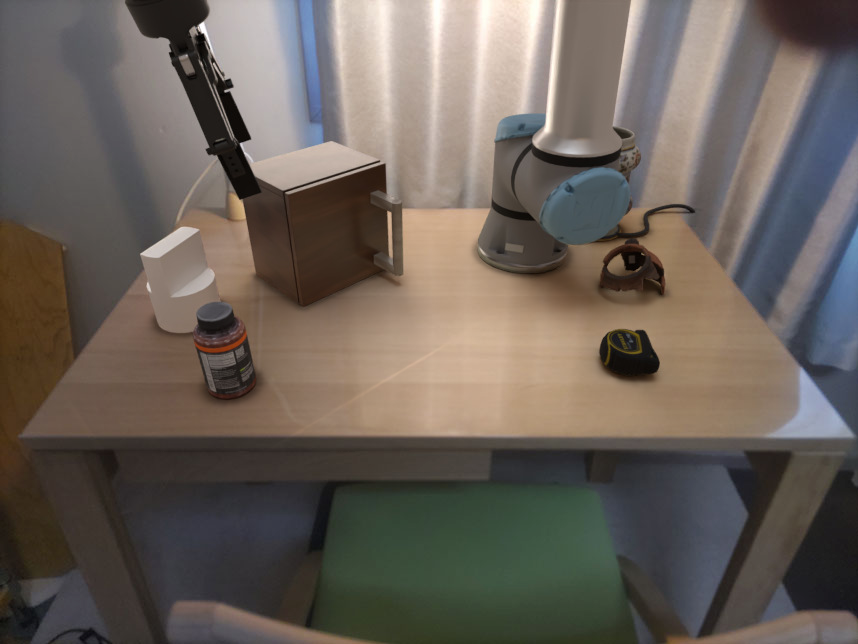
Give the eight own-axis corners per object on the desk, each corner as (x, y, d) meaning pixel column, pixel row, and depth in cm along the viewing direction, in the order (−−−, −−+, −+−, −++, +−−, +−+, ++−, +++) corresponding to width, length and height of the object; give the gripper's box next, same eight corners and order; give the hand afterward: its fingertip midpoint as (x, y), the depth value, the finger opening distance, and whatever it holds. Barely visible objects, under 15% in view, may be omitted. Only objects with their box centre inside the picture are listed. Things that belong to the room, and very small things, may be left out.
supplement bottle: (216, 369, 78) (197, 295, 71) (262, 370, 77) (247, 296, 71) (200, 400, 73) (178, 324, 66) (249, 402, 73) (232, 325, 66)
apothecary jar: (580, 209, 118) (595, 117, 108) (637, 227, 112) (659, 131, 102) (547, 230, 111) (560, 132, 101) (607, 251, 105) (627, 149, 94)
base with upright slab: (197, 338, 83) (177, 262, 76) (143, 326, 85) (119, 251, 78) (234, 305, 90) (219, 232, 83) (184, 294, 92) (165, 222, 85)
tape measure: (657, 382, 76) (664, 359, 74) (602, 380, 76) (607, 356, 74) (643, 349, 82) (649, 326, 80) (593, 347, 82) (597, 324, 80)
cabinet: (384, 265, 100) (380, 159, 90) (298, 304, 90) (282, 190, 80) (340, 241, 107) (331, 140, 97) (256, 274, 97) (236, 167, 87)
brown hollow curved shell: (674, 307, 91) (663, 272, 85) (612, 323, 95) (597, 290, 89) (660, 252, 99) (649, 217, 93) (603, 269, 102) (589, 236, 97)
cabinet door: (413, 280, 96) (412, 173, 86) (326, 323, 86) (314, 208, 76) (385, 265, 100) (381, 161, 89) (299, 304, 90) (283, 192, 80)
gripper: (128, -37, 68) (212, 131, 83) (112, 38, 51) (222, 232, 66) (192, -57, 69) (264, 114, 84) (198, 11, 51) (287, 210, 67)
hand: (245, 166), depth 75 cm, fingers open, 13 cm apart
